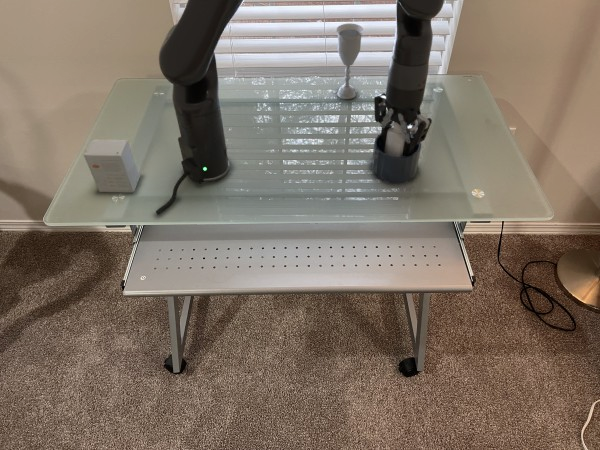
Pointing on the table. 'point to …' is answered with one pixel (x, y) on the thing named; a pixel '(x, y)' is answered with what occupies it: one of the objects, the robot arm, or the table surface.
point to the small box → (112, 165)
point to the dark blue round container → (394, 163)
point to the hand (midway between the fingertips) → (396, 147)
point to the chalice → (348, 53)
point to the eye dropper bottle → (395, 141)
